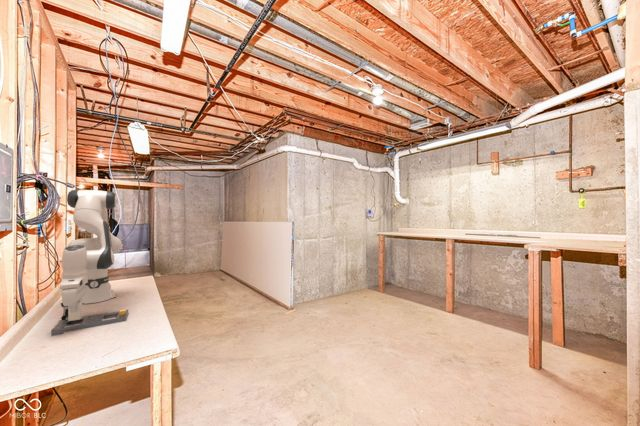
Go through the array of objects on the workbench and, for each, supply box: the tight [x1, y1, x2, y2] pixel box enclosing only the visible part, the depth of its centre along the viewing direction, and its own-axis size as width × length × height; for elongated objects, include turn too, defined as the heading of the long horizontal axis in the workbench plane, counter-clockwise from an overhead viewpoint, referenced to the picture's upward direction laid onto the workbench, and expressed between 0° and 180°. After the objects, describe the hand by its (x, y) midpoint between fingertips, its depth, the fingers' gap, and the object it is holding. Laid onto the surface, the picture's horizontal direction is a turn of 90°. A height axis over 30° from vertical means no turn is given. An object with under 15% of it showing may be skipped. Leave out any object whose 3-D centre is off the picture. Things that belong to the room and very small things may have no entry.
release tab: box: [118, 309, 127, 315], centre depth 130 cm, size 2×2×4 cm
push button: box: [57, 302, 68, 322], centre depth 130 cm, size 7×5×10 cm
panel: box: [50, 309, 129, 337], centre depth 124 cm, size 12×26×3 cm, turn 121°
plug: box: [68, 300, 83, 321], centre depth 121 cm, size 4×4×9 cm
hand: (75, 310), depth 121 cm, fingers closed on plug, 4 cm apart
